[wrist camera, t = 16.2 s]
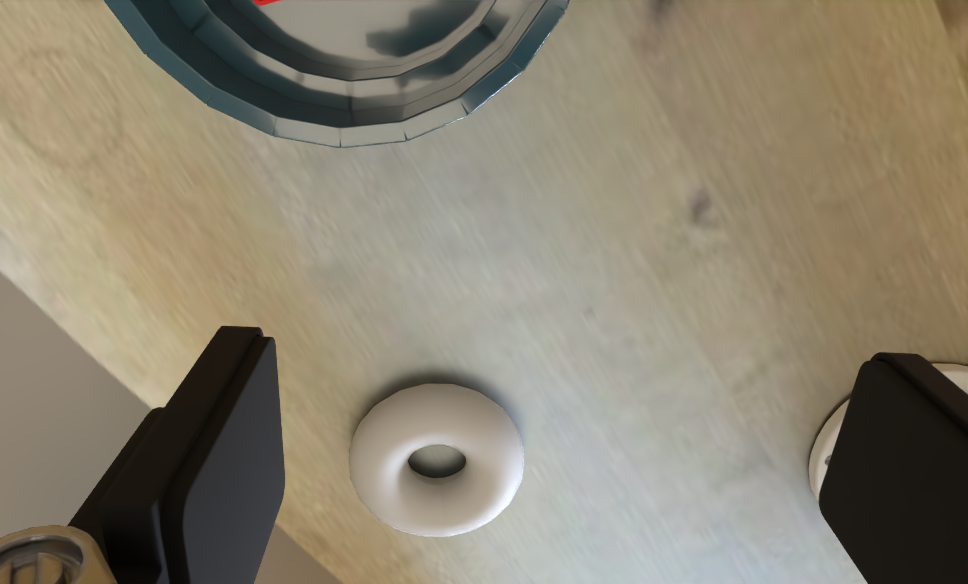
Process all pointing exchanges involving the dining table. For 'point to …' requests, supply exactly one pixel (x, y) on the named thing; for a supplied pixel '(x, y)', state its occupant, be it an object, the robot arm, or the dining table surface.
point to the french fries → (265, 2)
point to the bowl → (342, 60)
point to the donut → (436, 421)
